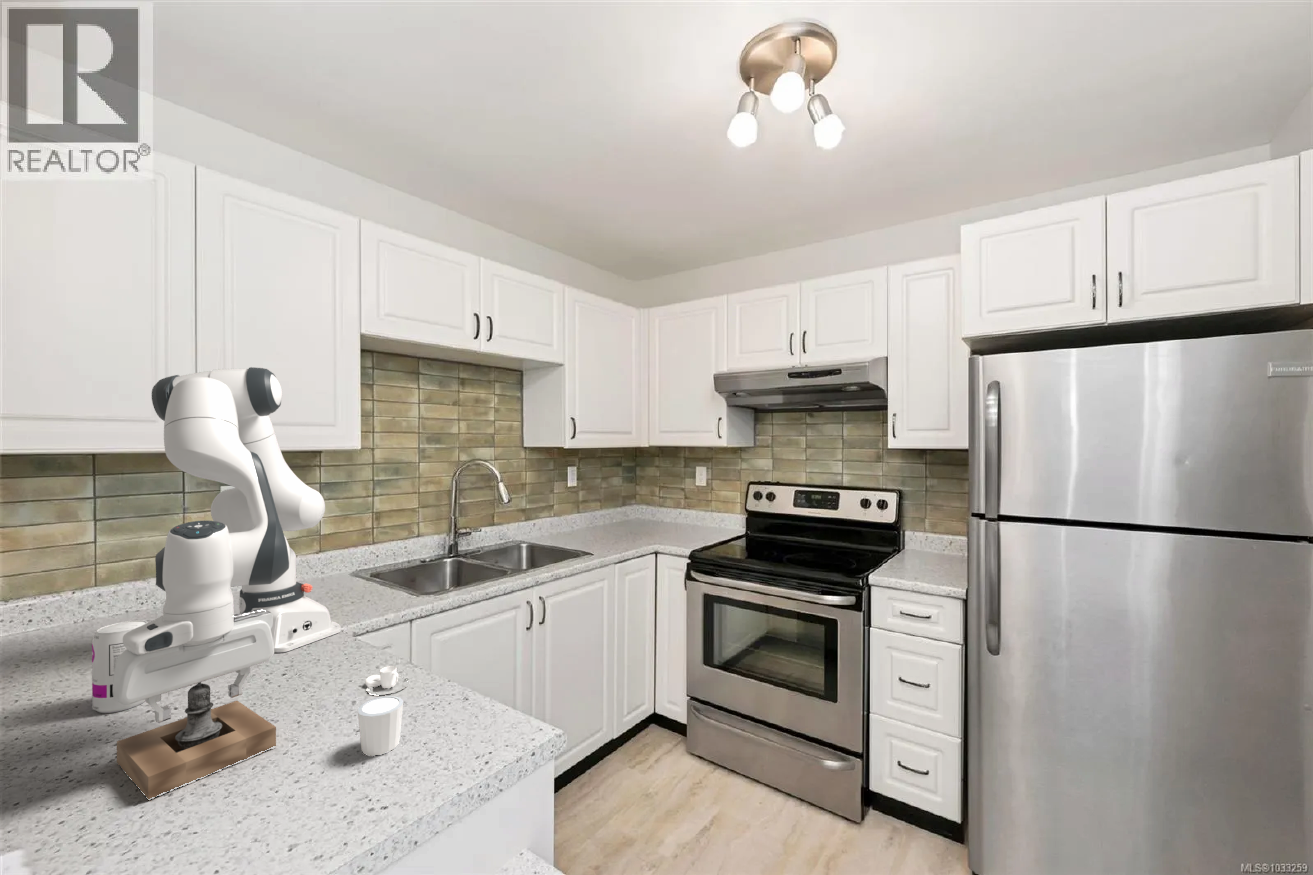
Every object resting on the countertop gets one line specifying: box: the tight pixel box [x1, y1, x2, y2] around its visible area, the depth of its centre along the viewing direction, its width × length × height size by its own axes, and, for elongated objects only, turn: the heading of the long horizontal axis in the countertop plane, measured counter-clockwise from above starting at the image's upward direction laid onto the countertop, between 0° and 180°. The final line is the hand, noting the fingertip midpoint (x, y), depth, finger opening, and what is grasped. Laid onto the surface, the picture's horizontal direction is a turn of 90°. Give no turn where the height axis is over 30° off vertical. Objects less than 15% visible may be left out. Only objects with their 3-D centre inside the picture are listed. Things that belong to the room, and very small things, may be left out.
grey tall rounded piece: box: [175, 682, 222, 750], centre depth 89 cm, size 6×6×12 cm
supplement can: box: [91, 619, 148, 714], centre depth 106 cm, size 8×8×15 cm
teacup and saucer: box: [364, 665, 409, 697], centre depth 113 cm, size 9×8×4 cm
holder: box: [116, 700, 277, 799], centre depth 89 cm, size 16×16×4 cm
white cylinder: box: [357, 695, 404, 755], centre depth 92 cm, size 7×7×7 cm
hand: (200, 707), depth 89 cm, fingers open, 8 cm apart
